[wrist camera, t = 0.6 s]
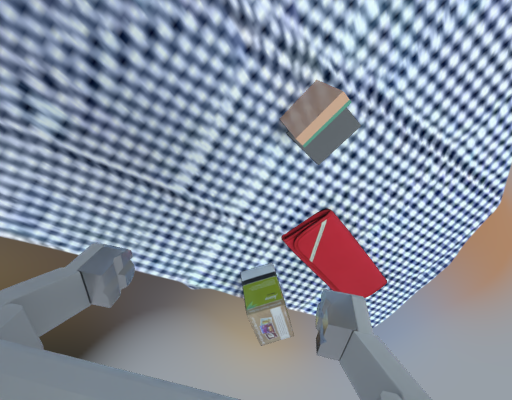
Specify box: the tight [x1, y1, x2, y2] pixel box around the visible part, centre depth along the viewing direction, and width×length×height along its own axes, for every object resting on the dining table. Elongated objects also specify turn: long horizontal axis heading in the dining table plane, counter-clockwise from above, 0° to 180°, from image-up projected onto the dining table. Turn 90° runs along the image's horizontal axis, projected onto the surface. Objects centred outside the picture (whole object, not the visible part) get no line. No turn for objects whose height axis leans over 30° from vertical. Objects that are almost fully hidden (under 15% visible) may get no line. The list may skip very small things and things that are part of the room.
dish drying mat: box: [282, 209, 387, 298], centre depth 78 cm, size 16×41×4 cm, turn 38°
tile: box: [280, 80, 351, 148], centre depth 47 cm, size 2×10×12 cm, turn 136°
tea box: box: [241, 263, 294, 346], centre depth 73 cm, size 15×10×15 cm, turn 14°
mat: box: [287, 107, 361, 165], centre depth 56 cm, size 11×12×1 cm
